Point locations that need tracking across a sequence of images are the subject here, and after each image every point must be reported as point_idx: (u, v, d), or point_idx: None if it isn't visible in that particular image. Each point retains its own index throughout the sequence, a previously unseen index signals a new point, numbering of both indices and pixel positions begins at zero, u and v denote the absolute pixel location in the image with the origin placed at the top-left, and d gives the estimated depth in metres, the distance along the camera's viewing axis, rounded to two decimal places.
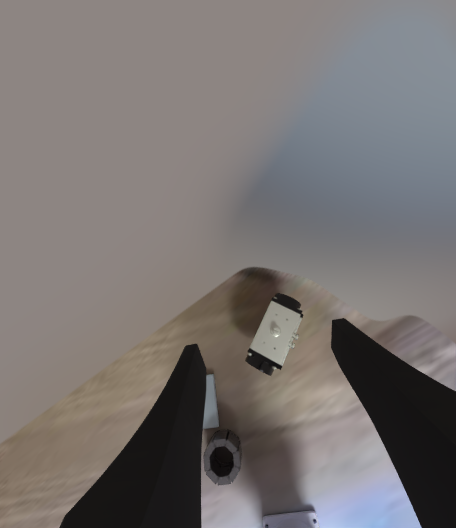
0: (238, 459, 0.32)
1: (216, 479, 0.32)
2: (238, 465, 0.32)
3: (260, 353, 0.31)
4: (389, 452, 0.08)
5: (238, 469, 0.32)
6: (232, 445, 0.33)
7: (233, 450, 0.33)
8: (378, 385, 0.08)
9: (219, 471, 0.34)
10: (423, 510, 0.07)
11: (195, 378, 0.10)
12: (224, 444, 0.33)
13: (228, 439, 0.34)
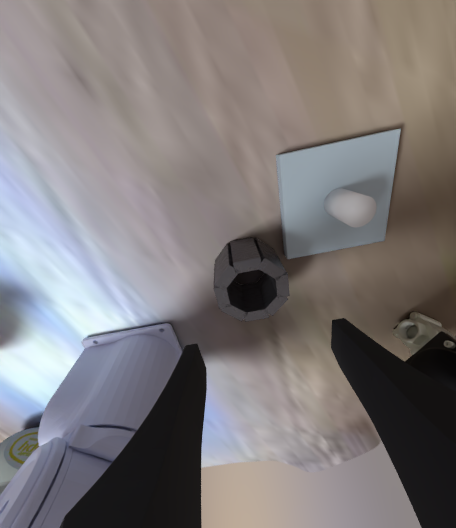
0: (256, 318, 0.17)
1: (222, 285, 0.16)
2: (247, 318, 0.17)
3: None
4: (389, 452, 0.08)
5: (241, 318, 0.17)
6: (277, 307, 0.17)
7: (270, 309, 0.17)
8: (378, 385, 0.08)
9: None
10: (423, 510, 0.07)
11: (195, 378, 0.10)
12: (279, 293, 0.16)
13: None
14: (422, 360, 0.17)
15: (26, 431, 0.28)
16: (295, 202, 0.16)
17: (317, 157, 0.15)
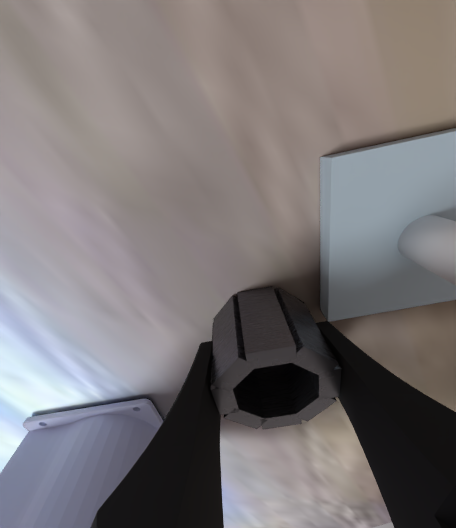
0: (281, 424, 0.11)
1: (226, 385, 0.09)
2: (266, 425, 0.11)
3: None
4: (367, 455, 0.08)
5: (256, 425, 0.11)
6: (317, 411, 0.10)
7: (304, 414, 0.10)
8: (355, 389, 0.08)
9: None
10: (396, 513, 0.07)
11: None
12: (322, 394, 0.10)
13: None
14: None
15: None
16: (351, 238, 0.09)
17: (401, 160, 0.08)
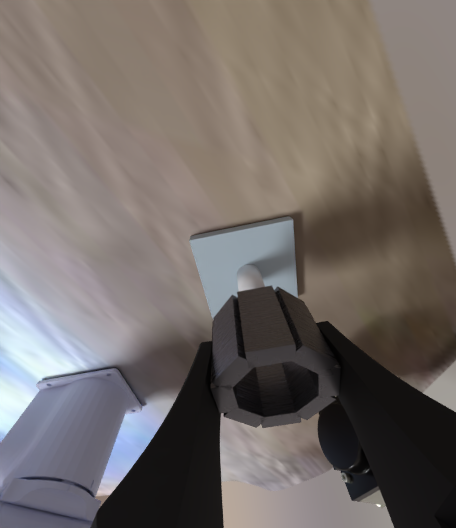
0: (281, 423, 0.11)
1: (226, 384, 0.09)
2: (266, 424, 0.11)
3: None
4: (366, 455, 0.08)
5: (256, 424, 0.11)
6: (317, 409, 0.10)
7: (304, 412, 0.10)
8: (355, 388, 0.08)
9: None
10: (396, 513, 0.07)
11: None
12: (321, 392, 0.10)
13: None
14: (327, 413, 0.19)
15: None
16: (211, 275, 0.18)
17: (223, 241, 0.17)
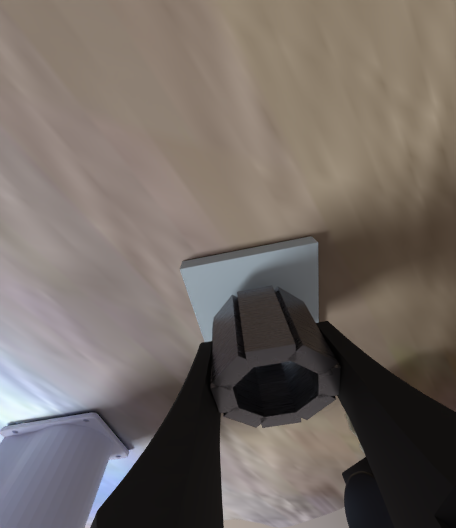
0: (281, 423, 0.11)
1: (226, 384, 0.09)
2: (266, 423, 0.11)
3: None
4: (367, 455, 0.08)
5: (256, 424, 0.11)
6: (317, 409, 0.10)
7: (303, 412, 0.10)
8: (355, 389, 0.08)
9: None
10: (396, 513, 0.07)
11: None
12: (321, 392, 0.10)
13: None
14: (357, 485, 0.15)
15: None
16: (209, 311, 0.14)
17: (225, 270, 0.13)
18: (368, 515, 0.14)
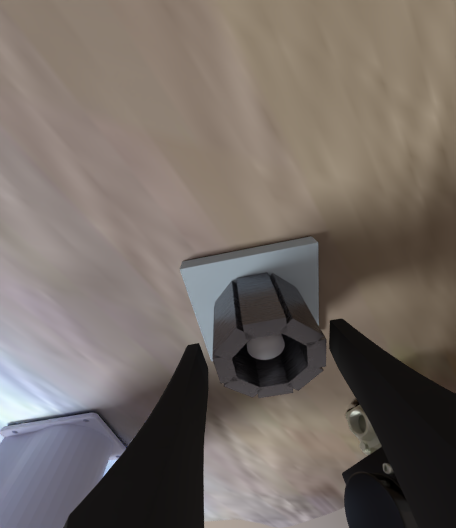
0: (275, 393, 0.12)
1: (226, 355, 0.10)
2: (261, 394, 0.12)
3: None
4: (386, 452, 0.08)
5: (253, 394, 0.12)
6: (307, 380, 0.11)
7: (295, 383, 0.12)
8: (375, 385, 0.08)
9: None
10: (420, 510, 0.07)
11: (197, 378, 0.10)
12: (310, 363, 0.11)
13: None
14: (357, 485, 0.15)
15: None
16: (209, 311, 0.14)
17: (225, 270, 0.13)
18: (368, 515, 0.14)
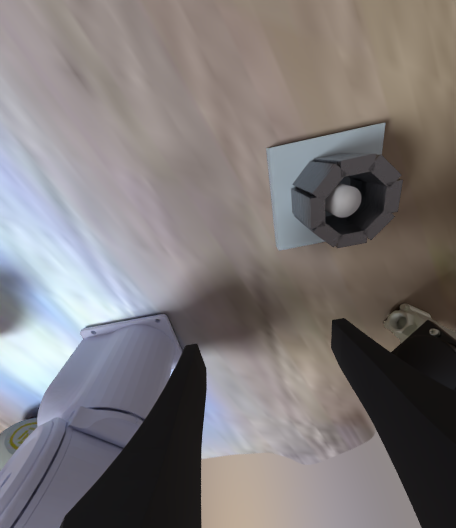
0: (351, 243, 0.14)
1: (322, 194, 0.13)
2: (341, 243, 0.14)
3: None
4: (389, 452, 0.08)
5: (334, 243, 0.14)
6: (379, 228, 0.14)
7: (370, 231, 0.14)
8: (378, 385, 0.08)
9: None
10: (423, 510, 0.07)
11: (195, 378, 0.10)
12: (385, 208, 0.14)
13: None
14: (408, 347, 0.18)
15: (26, 421, 0.28)
16: (285, 194, 0.17)
17: (306, 150, 0.15)
18: (421, 363, 0.16)
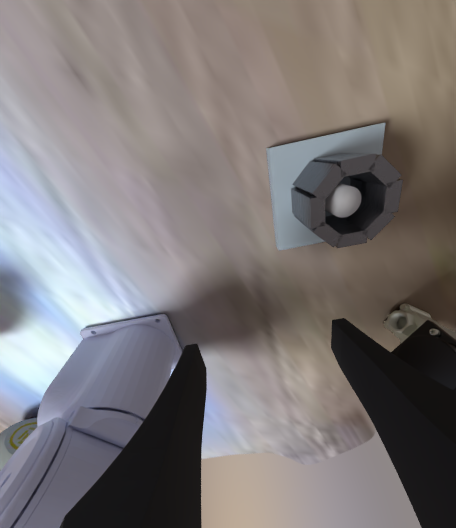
0: (351, 243, 0.14)
1: (322, 194, 0.13)
2: (341, 243, 0.14)
3: None
4: (389, 452, 0.08)
5: (334, 243, 0.14)
6: (379, 228, 0.14)
7: (370, 231, 0.14)
8: (378, 385, 0.08)
9: None
10: (423, 510, 0.07)
11: (195, 378, 0.10)
12: (385, 208, 0.14)
13: None
14: (408, 347, 0.18)
15: (26, 421, 0.28)
16: (285, 194, 0.17)
17: (306, 150, 0.15)
18: (421, 363, 0.16)
